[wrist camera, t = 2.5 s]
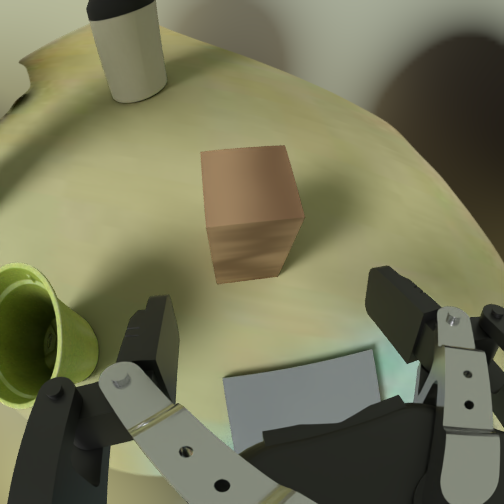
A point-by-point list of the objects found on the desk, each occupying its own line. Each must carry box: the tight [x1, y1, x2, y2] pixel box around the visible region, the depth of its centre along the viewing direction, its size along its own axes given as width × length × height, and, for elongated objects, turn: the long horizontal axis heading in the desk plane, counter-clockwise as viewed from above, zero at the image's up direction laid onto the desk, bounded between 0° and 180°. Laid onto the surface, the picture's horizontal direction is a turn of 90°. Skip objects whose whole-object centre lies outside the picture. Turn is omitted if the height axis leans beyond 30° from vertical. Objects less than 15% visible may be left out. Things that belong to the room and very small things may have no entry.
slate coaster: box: [223, 349, 381, 454], centre depth 19 cm, size 12×12×1 cm
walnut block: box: [201, 145, 305, 284], centre depth 20 cm, size 5×5×10 cm
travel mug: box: [87, 0, 167, 103], centre depth 25 cm, size 8×8×18 cm
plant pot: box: [0, 262, 99, 409], centre depth 16 cm, size 9×9×9 cm
